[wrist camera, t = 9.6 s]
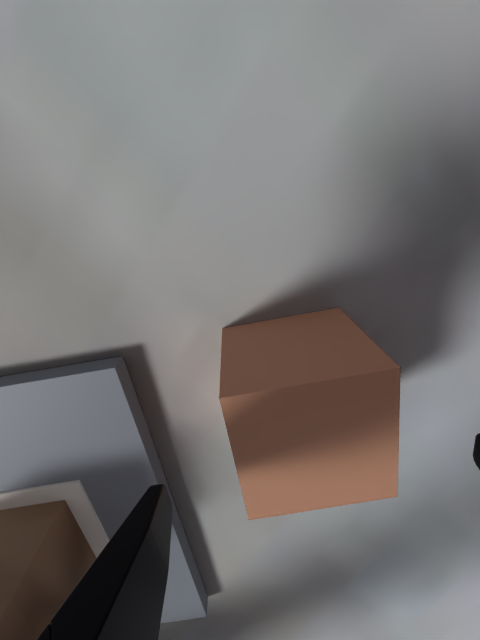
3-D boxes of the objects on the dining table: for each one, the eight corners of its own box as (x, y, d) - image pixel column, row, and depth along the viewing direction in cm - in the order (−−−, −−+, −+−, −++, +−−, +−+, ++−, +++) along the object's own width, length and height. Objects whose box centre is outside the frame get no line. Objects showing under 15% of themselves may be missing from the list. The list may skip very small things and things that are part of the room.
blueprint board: (207, 597, 20) (206, 619, 19) (0, 627, 20) (-13, 651, 19) (122, 355, 13) (113, 369, 12) (-184, 407, 14) (-218, 425, 13)
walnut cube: (99, 564, 17) (49, 706, 12) (10, 577, 17) (-73, 723, 12) (65, 499, 15) (-11, 638, 10) (-35, 515, 15) (-155, 659, 10)
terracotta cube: (344, 402, 15) (397, 496, 10) (242, 420, 15) (248, 520, 10) (338, 307, 13) (400, 367, 8) (222, 327, 13) (219, 398, 8)
